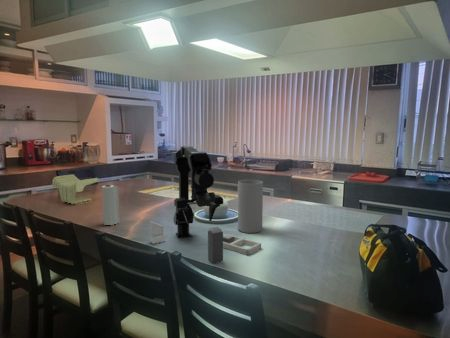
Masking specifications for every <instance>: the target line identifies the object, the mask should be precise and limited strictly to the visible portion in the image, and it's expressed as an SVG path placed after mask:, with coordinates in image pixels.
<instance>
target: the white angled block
mask: <svg viewBox="0 0 450 338" xmlns="http://www.w3.org/2000/svg"><path fill="white" fill-rule="evenodd" d="M149 237H150V238H149V239H150V240H149V241H151V242H152V243H151V242H150V243H151V244H152V245H156V244H160V243H159V242H161V243H164V241H165V242H166V234H164V226H163V225H161V224H159V223H157V222H154V221H152V220H149ZM155 243H156V244H155Z"/></svg>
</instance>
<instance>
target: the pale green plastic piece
mask: <svg viewBox="0 0 450 338" xmlns="http://www.w3.org/2000/svg"><path fill="white" fill-rule="evenodd" d="M98 182H99V177H94V178H86V179H79V178H78V177H77V176H76V175H75V174H73V173H72V174H71V173H70V174H65V175H59V176H58V175H57V176H55V177H53V178H52V188H57V190H58V191H59V195H60V200H61V202H62V203H65V202H67V203H66V204H69V203H71V204H70V205H73V203H78V202H82V201H87V200H92V198H91V197H87V196H78V197H76V195H77V193H79V192H83V191H84V188H85V187H86V186H91V185H93V184H96V183H98Z"/></svg>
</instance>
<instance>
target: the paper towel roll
mask: <svg viewBox="0 0 450 338" xmlns="http://www.w3.org/2000/svg"><path fill="white" fill-rule="evenodd" d="M101 196H102V198H101V199H102V211H103V212H102V213H103V214H102V217H103V225H104V226H105V225H111V226H115V225H114V224H116V225H118V224H117V223H119V224H120V223H121V222H120V221H121V220H120V217H121V216H120V199H119V186H118V185H115V186H114V184H110V185H109V184H108V185H102V186H101Z"/></svg>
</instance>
